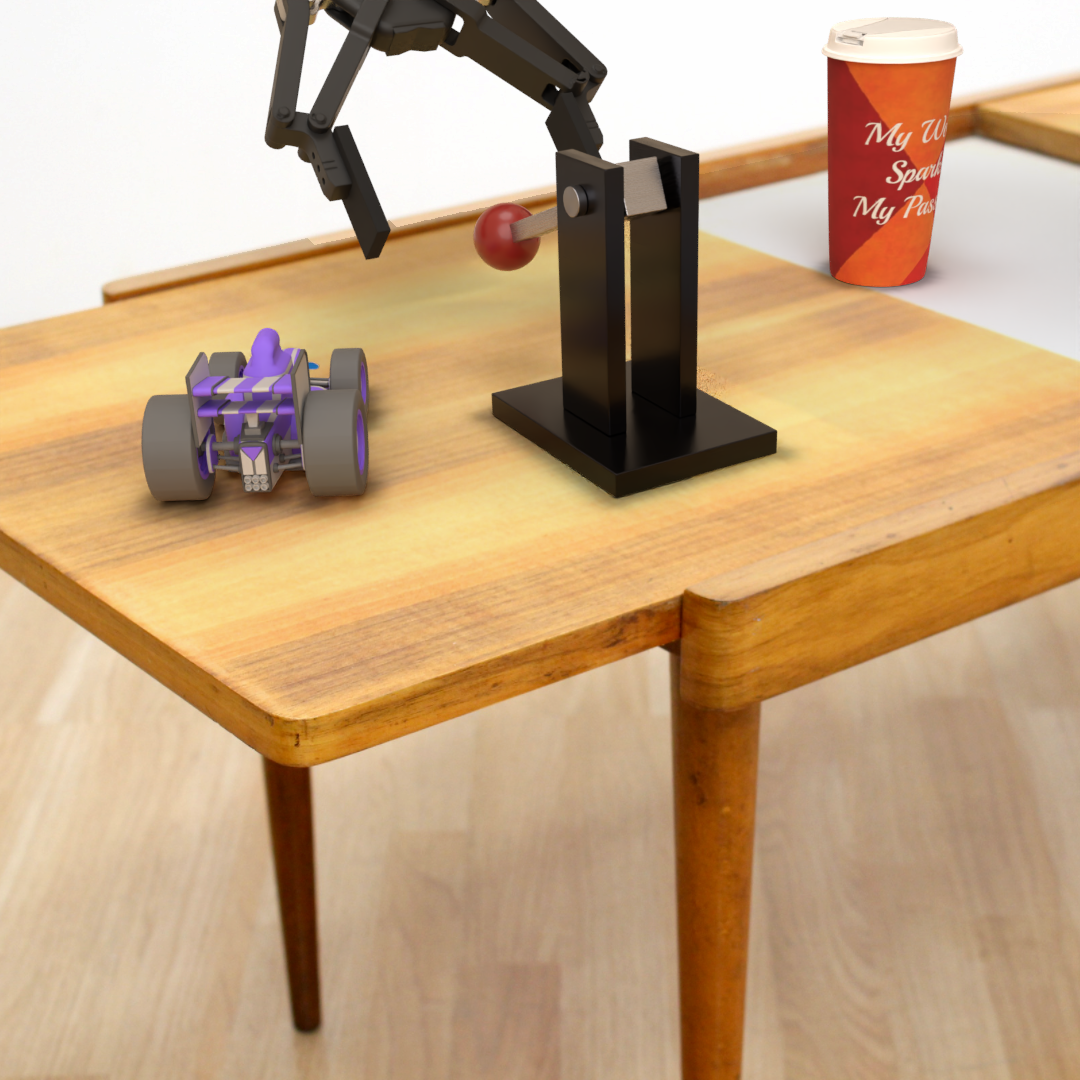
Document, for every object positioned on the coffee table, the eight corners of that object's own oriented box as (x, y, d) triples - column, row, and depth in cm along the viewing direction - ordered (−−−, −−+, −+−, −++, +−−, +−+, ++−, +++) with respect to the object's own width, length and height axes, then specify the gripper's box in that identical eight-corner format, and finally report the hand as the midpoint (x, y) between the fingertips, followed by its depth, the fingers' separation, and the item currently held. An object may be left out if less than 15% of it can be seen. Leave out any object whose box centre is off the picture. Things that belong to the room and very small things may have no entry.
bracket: (492, 414, 79) (477, 142, 73) (640, 378, 83) (638, 117, 77) (616, 498, 70) (611, 194, 64) (777, 453, 74) (787, 162, 67)
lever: (470, 280, 84) (456, 214, 83) (529, 269, 85) (514, 204, 85) (616, 232, 69) (599, 151, 69) (683, 219, 71) (667, 140, 70)
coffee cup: (876, 301, 93) (893, 42, 86) (784, 269, 99) (793, 26, 93) (973, 274, 97) (997, 25, 90) (879, 245, 103) (895, 10, 97)
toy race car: (392, 390, 83) (382, 272, 80) (361, 513, 69) (348, 376, 66) (214, 396, 83) (198, 278, 80) (149, 519, 70) (127, 383, 67)
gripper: (529, -64, 97) (660, 224, 92) (138, -27, 87) (263, 300, 82) (570, -154, 91) (713, 151, 86) (152, -126, 80) (288, 224, 75)
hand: (494, 225), depth 84 cm, fingers open, 13 cm apart
